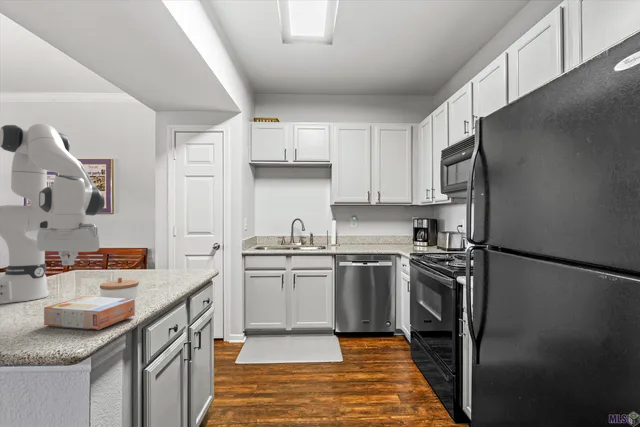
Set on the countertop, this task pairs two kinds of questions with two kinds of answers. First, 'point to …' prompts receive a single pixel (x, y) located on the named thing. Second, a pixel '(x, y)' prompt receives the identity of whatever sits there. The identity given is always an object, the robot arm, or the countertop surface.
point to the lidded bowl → (120, 289)
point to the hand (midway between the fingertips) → (68, 265)
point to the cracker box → (89, 312)
